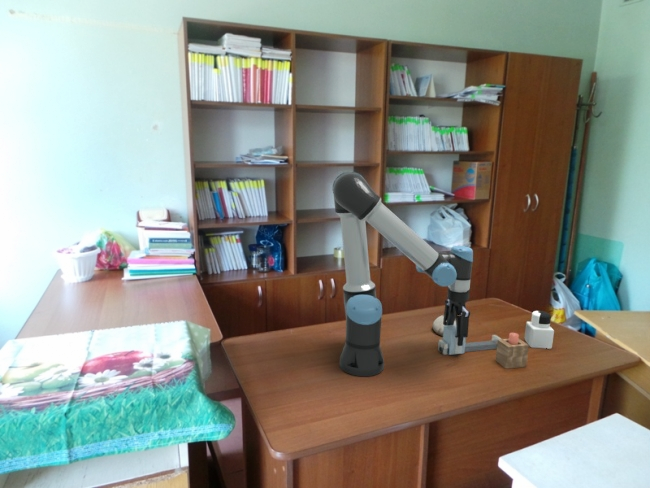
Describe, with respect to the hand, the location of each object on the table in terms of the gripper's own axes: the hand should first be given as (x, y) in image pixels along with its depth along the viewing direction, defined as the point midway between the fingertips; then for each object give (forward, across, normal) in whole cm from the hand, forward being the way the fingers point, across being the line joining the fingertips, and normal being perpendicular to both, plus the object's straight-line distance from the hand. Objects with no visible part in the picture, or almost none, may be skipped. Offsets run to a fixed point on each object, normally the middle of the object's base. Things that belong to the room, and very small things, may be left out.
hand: (453, 349), depth 165 cm
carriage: (+1, 0, 0) cm, 1 cm away
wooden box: (+1, -13, -15) cm, 20 cm away
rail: (+1, 0, -7) cm, 7 cm away
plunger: (-2, -13, -15) cm, 20 cm away
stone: (+1, +18, -7) cm, 19 cm away
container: (+1, -1, -36) cm, 36 cm away
